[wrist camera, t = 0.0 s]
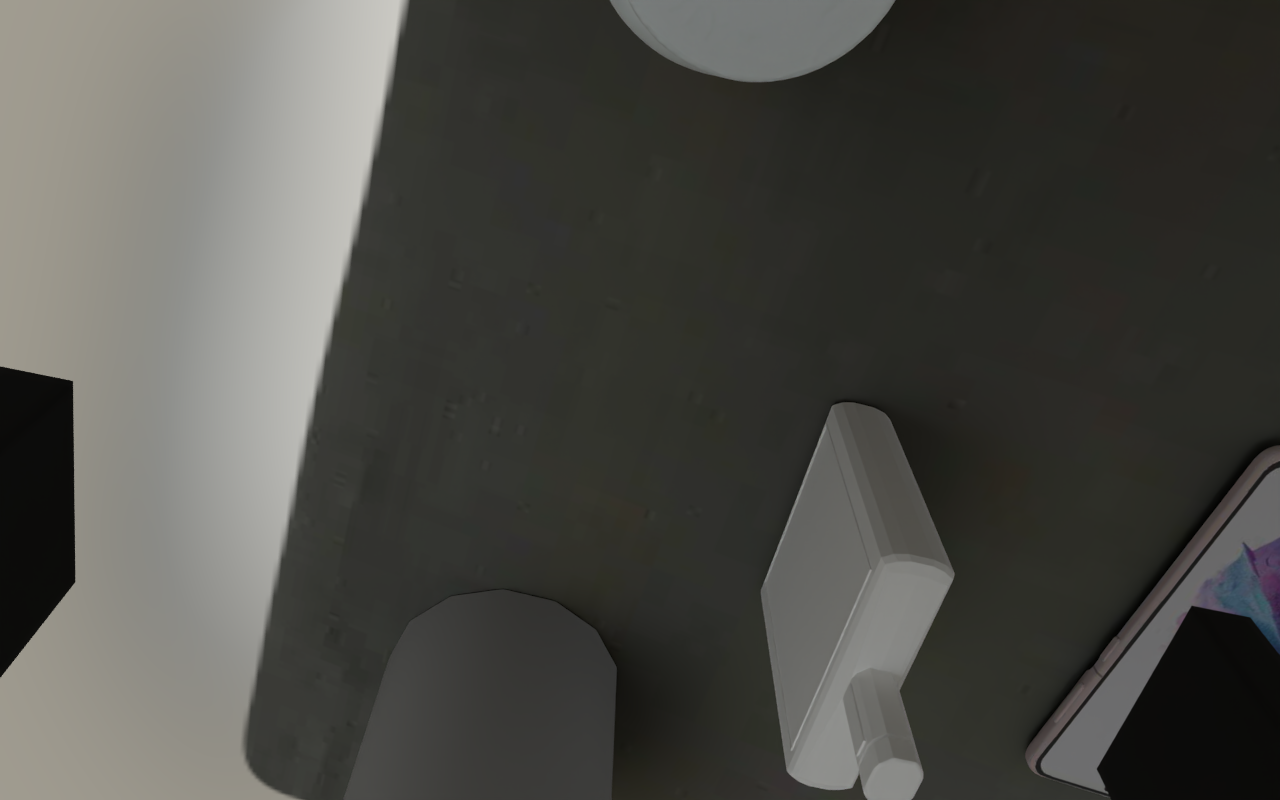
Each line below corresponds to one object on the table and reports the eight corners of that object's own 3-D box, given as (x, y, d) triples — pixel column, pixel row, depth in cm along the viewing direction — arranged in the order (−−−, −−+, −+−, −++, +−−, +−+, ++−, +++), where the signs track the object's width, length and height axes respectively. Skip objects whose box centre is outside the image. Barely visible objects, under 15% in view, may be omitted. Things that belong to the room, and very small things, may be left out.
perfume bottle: (832, 395, 34) (915, 645, 23) (892, 409, 34) (1001, 664, 23) (756, 593, 37) (797, 890, 27) (810, 605, 38) (873, 904, 27)
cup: (448, 554, 37) (383, 779, 28) (657, 646, 39) (659, 885, 30) (355, 716, 40) (271, 963, 31) (552, 794, 42) (525, 1049, 33)
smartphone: (1455, 517, 35) (1180, 822, 41) (1436, 501, 35) (1169, 803, 42) (1276, 446, 33) (1020, 773, 40) (1260, 432, 34) (1012, 754, 40)
